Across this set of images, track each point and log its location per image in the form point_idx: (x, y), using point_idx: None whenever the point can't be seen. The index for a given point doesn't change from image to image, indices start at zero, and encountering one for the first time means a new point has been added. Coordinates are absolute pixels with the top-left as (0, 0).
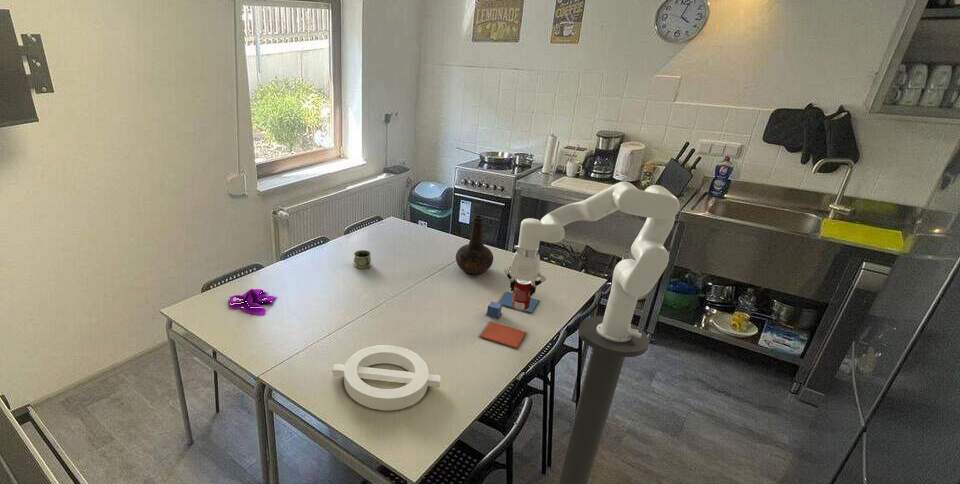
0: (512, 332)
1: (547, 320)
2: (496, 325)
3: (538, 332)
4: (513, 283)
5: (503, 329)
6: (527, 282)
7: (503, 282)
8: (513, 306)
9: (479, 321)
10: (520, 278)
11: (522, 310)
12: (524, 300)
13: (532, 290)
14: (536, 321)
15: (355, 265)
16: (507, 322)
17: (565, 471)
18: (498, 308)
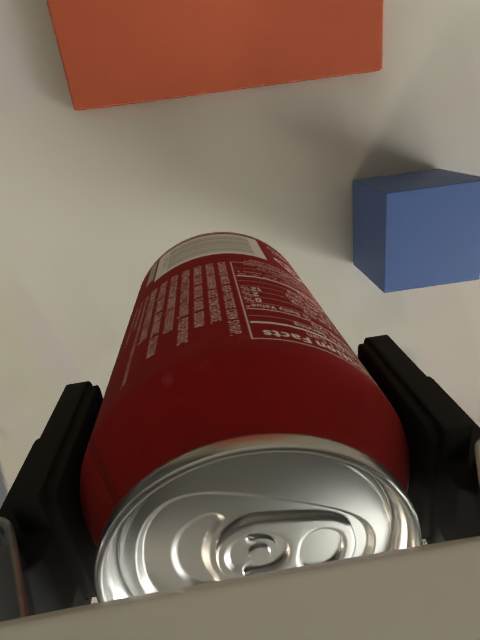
0: (154, 12)
1: (59, 383)
2: (318, 36)
3: (12, 195)
4: (428, 423)
5: (240, 8)
6: (184, 579)
7: None
8: (266, 245)
9: (467, 26)
10: (342, 582)
11: None
12: (151, 294)
13: (38, 448)
14: (106, 327)
15: None
16: (264, 176)
17: None
18: (390, 200)
